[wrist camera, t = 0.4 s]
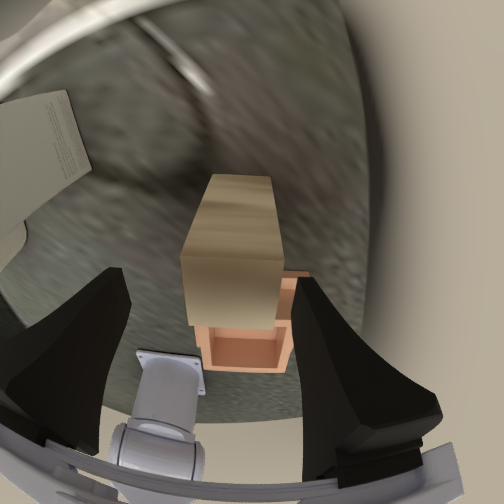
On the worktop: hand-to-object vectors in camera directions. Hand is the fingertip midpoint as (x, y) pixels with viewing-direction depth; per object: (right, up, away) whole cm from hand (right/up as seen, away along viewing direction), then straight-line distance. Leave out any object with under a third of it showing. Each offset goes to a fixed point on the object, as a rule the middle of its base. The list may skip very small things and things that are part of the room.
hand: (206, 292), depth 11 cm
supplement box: (-15, +10, +6) cm, 19 cm away
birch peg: (+1, +5, +9) cm, 10 cm away
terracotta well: (+1, -4, +15) cm, 16 cm away
